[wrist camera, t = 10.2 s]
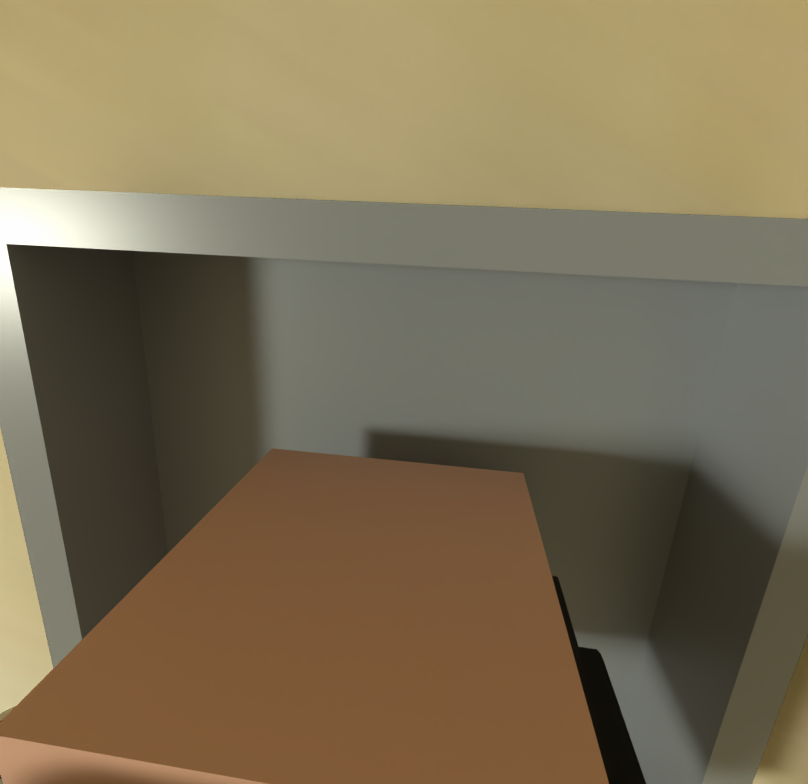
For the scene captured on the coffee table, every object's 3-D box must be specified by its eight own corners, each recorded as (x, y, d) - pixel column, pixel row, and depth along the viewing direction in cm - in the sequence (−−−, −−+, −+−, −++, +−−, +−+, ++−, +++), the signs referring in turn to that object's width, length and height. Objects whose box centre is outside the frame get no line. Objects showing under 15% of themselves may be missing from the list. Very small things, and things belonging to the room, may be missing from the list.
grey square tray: (119, 209, 13) (-53, 185, 9) (769, 237, 11) (963, 224, 7) (176, 678, 18) (85, 812, 14) (633, 750, 16) (696, 931, 12)
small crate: (272, 448, 11) (-12, 734, 4) (523, 473, 11) (626, 847, 4) (279, 644, 13) (84, 1060, 6) (495, 676, 12) (534, 1175, 6)
